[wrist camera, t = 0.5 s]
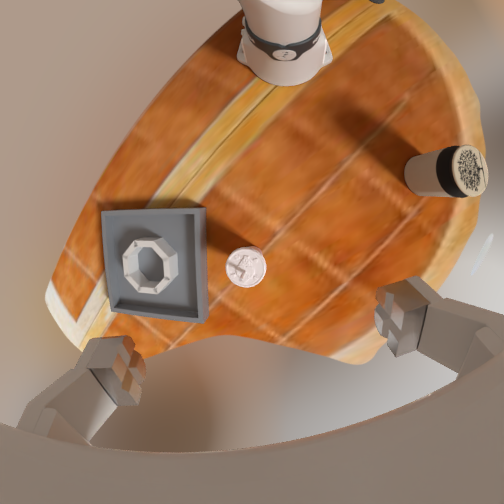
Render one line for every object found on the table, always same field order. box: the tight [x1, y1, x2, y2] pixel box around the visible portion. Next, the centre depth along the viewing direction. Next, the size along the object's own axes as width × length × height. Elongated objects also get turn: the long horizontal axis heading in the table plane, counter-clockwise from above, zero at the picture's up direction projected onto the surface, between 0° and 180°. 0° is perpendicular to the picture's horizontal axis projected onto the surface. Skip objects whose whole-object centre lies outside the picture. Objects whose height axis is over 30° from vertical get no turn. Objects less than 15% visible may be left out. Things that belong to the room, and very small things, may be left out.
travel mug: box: [404, 145, 488, 198], centre depth 37 cm, size 8×8×18 cm
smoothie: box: [226, 246, 266, 287], centre depth 46 cm, size 6×6×14 cm
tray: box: [101, 207, 209, 323], centre depth 53 cm, size 22×22×5 cm
